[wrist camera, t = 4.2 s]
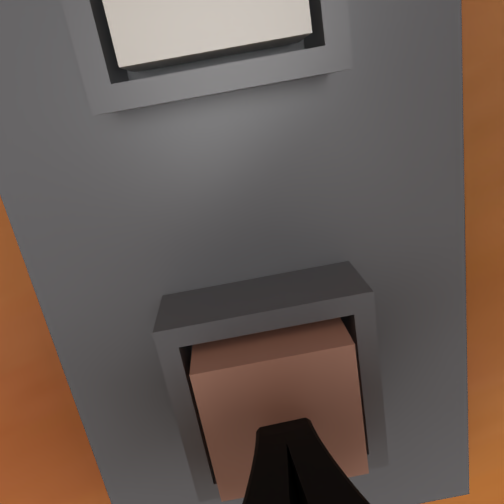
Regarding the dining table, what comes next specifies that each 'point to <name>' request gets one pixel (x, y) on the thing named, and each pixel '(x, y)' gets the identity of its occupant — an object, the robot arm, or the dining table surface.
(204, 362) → the terracotta key
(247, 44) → the white key
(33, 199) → the grey key base
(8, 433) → the dining table surface
